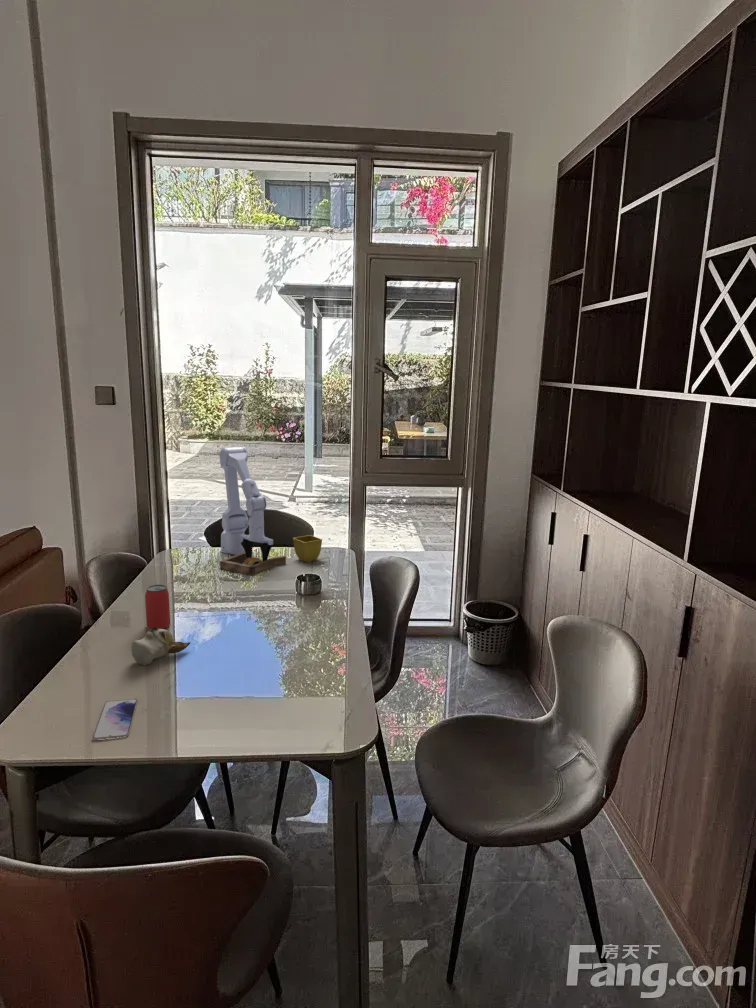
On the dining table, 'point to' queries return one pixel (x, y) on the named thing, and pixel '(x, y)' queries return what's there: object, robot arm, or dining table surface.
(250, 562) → the pastry
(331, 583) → the dining table surface
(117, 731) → the smartphone
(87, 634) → the dining table surface
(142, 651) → the ceramic sculpture
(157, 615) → the beer can
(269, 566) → the holder
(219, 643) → the dining table surface
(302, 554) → the flower pot
